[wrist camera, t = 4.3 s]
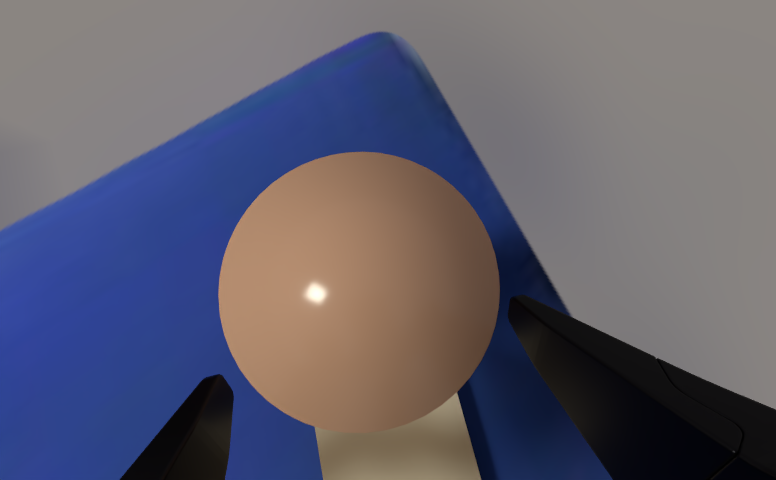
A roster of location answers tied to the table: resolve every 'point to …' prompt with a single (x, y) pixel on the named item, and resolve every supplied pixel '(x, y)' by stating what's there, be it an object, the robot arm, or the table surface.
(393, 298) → the tan rounded cylinder
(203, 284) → the table surface
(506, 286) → the table surface
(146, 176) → the table surface
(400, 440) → the coaster
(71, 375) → the table surface
